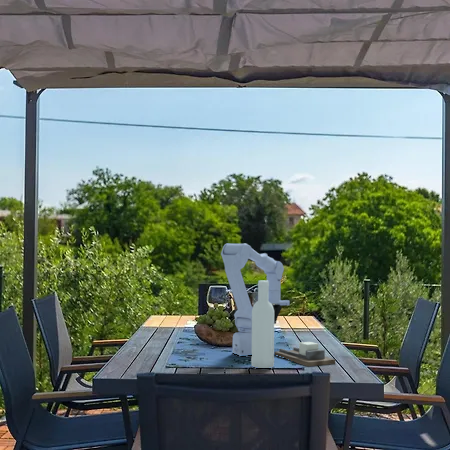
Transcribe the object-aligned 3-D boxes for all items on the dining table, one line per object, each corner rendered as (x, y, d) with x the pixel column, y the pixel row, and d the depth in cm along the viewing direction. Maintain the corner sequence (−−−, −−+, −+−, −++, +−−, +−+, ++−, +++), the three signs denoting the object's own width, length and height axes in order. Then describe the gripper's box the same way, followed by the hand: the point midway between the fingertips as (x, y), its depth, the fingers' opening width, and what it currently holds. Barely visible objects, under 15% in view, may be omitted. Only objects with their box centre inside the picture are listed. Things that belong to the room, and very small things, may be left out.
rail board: (308, 366, 207) (308, 353, 208) (274, 355, 227) (274, 343, 227) (335, 363, 213) (335, 351, 213) (300, 353, 232) (300, 341, 233)
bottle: (260, 363, 211) (260, 279, 212) (278, 366, 206) (279, 280, 207) (246, 367, 205) (247, 280, 206) (265, 370, 200) (266, 281, 201)
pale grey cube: (307, 358, 214) (307, 344, 214) (299, 356, 218) (299, 342, 219) (318, 357, 216) (318, 343, 216) (310, 355, 221) (310, 341, 221)
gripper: (283, 289, 248) (282, 321, 248) (253, 289, 242) (252, 323, 241) (292, 290, 242) (292, 323, 242) (262, 291, 235) (261, 325, 235)
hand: (273, 323), depth 241 cm, fingers closed
